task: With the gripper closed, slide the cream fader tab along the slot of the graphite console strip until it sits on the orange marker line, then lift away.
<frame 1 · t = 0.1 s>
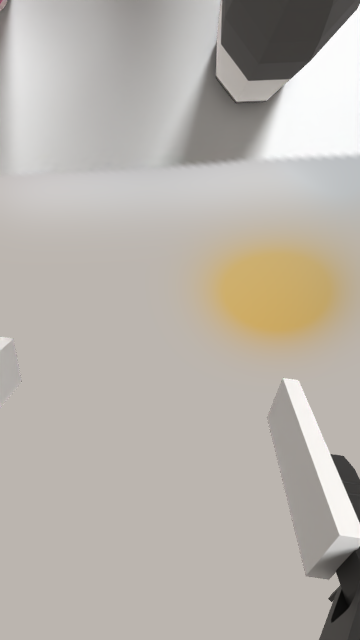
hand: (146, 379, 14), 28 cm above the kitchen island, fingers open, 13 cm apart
wine bottle: (252, 58, 29), on the kitchen island
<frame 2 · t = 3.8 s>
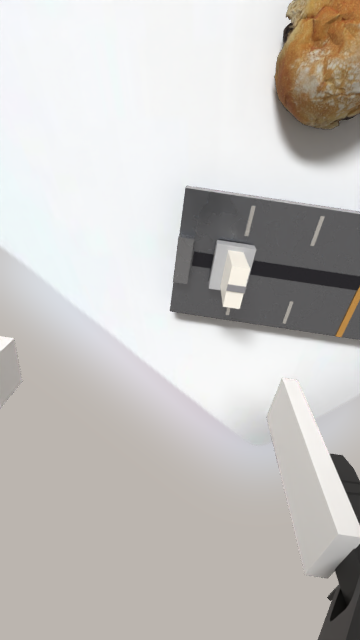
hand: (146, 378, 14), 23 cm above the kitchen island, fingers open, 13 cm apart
bread roll: (328, 59, 25), on the kitchen island
fader: (232, 275, 29), point 6 cm above the kitchen island, slide at -8.0 cm
console: (295, 267, 34), on the kitchen island
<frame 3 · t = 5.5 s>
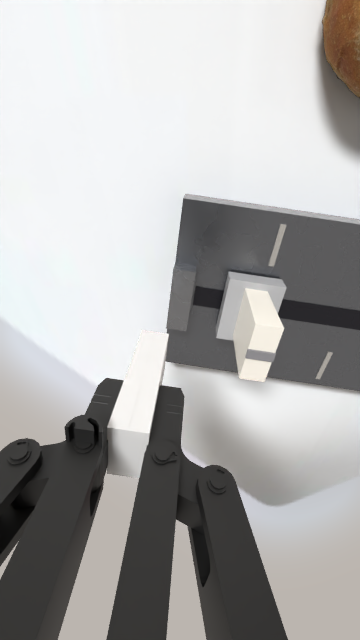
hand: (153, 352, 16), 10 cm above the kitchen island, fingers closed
fader: (252, 326, 20), point 6 cm above the kitchen island, slide at -8.0 cm
console: (334, 304, 25), on the kitchen island
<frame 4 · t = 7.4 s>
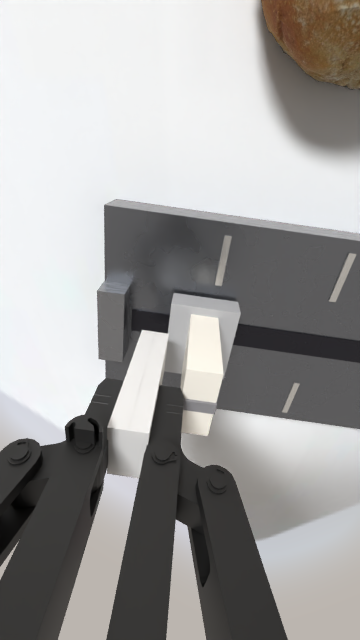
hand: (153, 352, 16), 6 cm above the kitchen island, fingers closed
fader: (198, 362, 16), point 6 cm above the kitchen island, slide at -7.6 cm, touching gripper
console: (301, 326, 21), on the kitchen island
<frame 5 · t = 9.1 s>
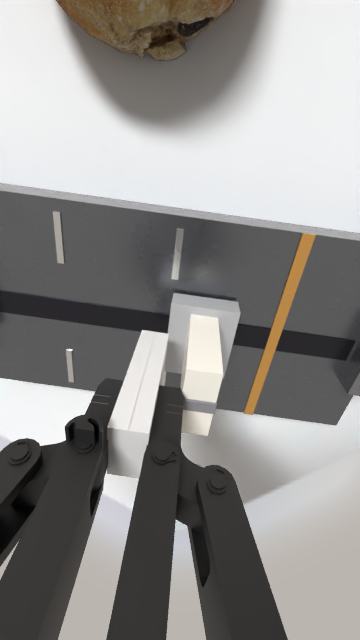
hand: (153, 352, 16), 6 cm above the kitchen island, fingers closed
fader: (198, 362, 16), point 6 cm above the kitchen island, slide at 2.1 cm, touching gripper
console: (172, 307, 21), on the kitchen island
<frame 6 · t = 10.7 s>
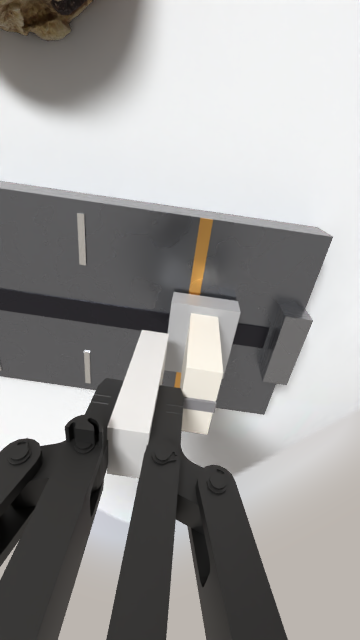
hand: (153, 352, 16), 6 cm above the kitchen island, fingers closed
fader: (198, 361, 16), point 6 cm above the kitchen island, slide at 7.7 cm, touching gripper
console: (97, 295, 21), on the kitchen island
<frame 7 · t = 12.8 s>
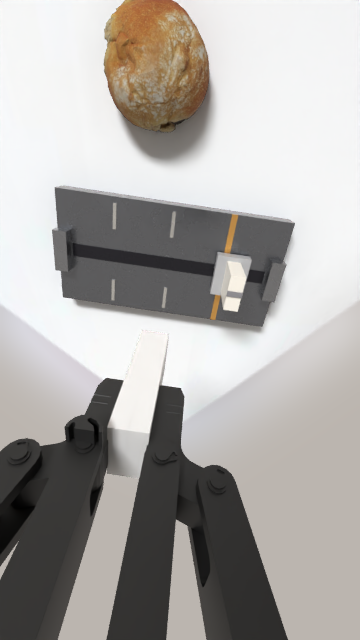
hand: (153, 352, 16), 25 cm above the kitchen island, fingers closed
bread roll: (156, 74, 30), on the kitchen island
fader: (231, 283, 33), point 6 cm above the kitchen island, slide at 7.8 cm
console: (170, 257, 39), on the kitchen island
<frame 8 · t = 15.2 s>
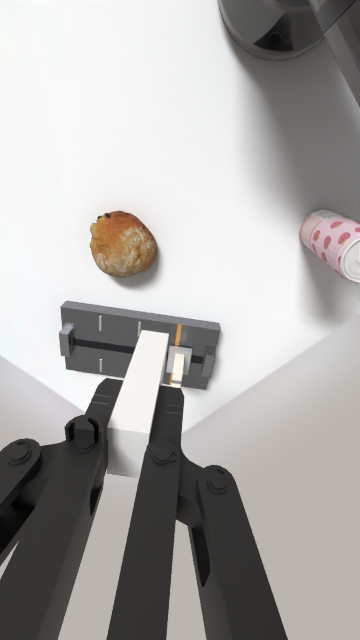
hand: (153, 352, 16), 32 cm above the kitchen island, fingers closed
bread roll: (124, 242, 46), on the kitchen island
fader: (177, 369, 50), point 6 cm above the kitchen island, slide at 7.8 cm
console: (140, 343, 56), on the kitchen island
beverage can: (317, 228, 43), on the kitchen island
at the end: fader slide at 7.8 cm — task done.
